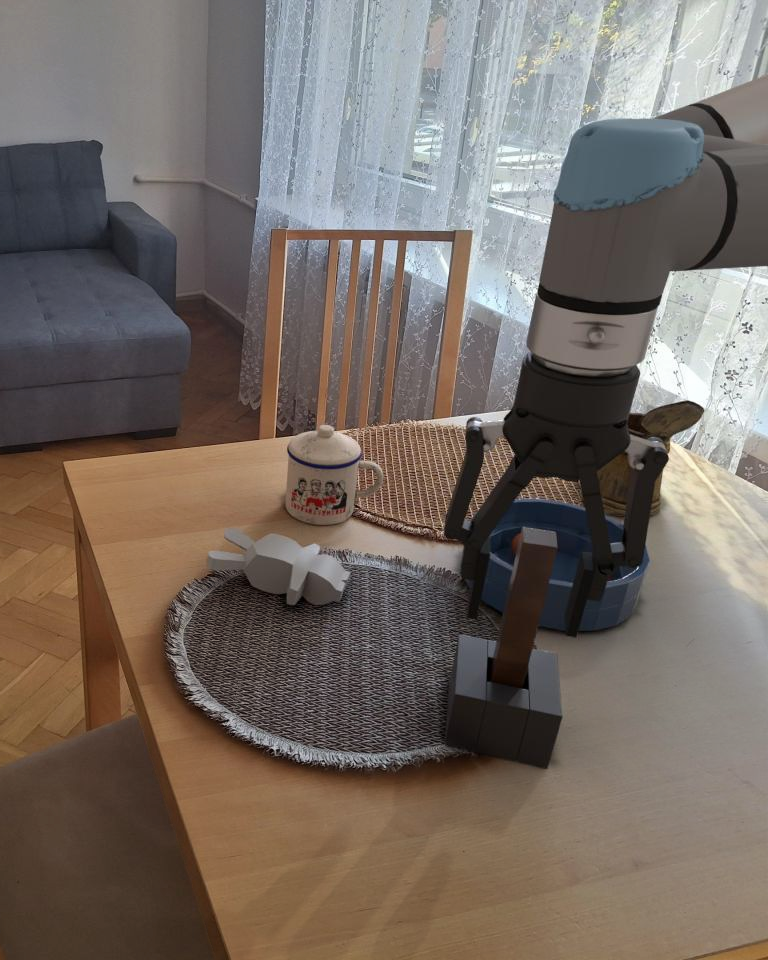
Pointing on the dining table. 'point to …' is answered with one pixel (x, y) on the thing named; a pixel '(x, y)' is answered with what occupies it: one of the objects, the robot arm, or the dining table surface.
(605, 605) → the bowl
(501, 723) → the holder
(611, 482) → the wooden mug
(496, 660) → the stick
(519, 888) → the dining table surface
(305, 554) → the bunny figurine
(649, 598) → the dining table surface
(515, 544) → the bead
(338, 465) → the teacup with lid
